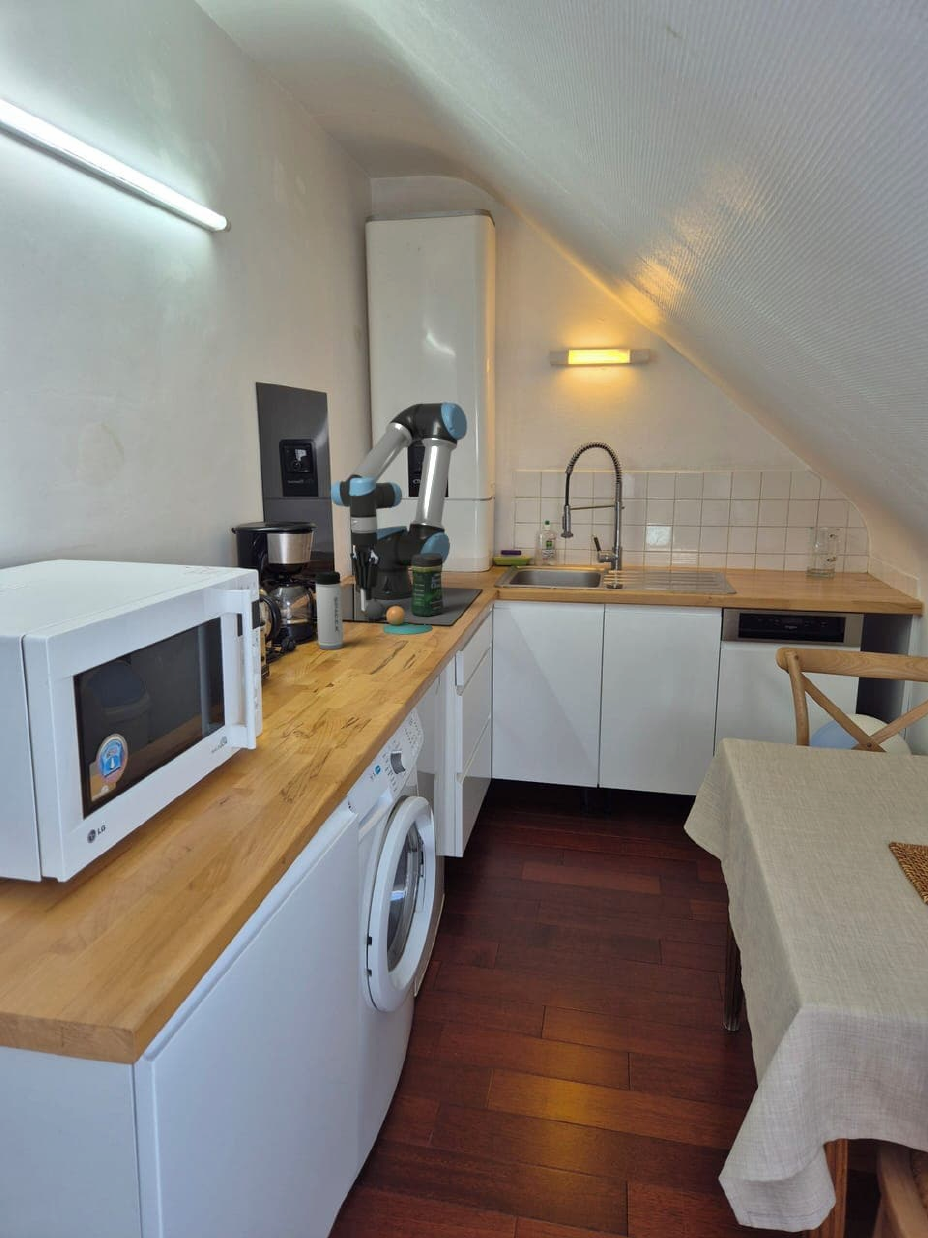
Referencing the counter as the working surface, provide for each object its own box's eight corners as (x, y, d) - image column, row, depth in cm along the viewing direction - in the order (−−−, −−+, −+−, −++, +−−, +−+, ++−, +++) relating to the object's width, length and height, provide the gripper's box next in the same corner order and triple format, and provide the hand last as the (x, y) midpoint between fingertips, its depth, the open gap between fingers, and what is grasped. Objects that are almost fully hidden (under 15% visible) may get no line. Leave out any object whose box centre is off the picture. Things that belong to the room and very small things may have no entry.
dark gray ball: (385, 599, 240) (388, 617, 240) (378, 599, 245) (381, 618, 245) (367, 602, 237) (371, 621, 238) (361, 603, 242) (364, 621, 243)
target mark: (410, 620, 240) (410, 620, 240) (442, 628, 231) (442, 627, 230) (372, 628, 231) (372, 627, 231) (404, 637, 221) (404, 636, 221)
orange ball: (397, 602, 237) (408, 606, 233) (399, 620, 239) (410, 624, 235) (381, 606, 234) (392, 610, 230) (383, 625, 236) (394, 629, 231)
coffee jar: (427, 618, 243) (426, 556, 239) (407, 615, 248) (405, 553, 244) (448, 612, 251) (447, 552, 247) (428, 609, 256) (427, 550, 252)
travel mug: (318, 644, 214) (314, 568, 210) (344, 643, 215) (341, 567, 210) (316, 650, 208) (312, 572, 204) (342, 649, 208) (339, 571, 204)
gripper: (341, 530, 244) (344, 608, 249) (365, 534, 234) (367, 615, 239) (363, 528, 248) (365, 605, 253) (387, 532, 238) (389, 611, 244)
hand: (366, 610), depth 246 cm, fingers closed
